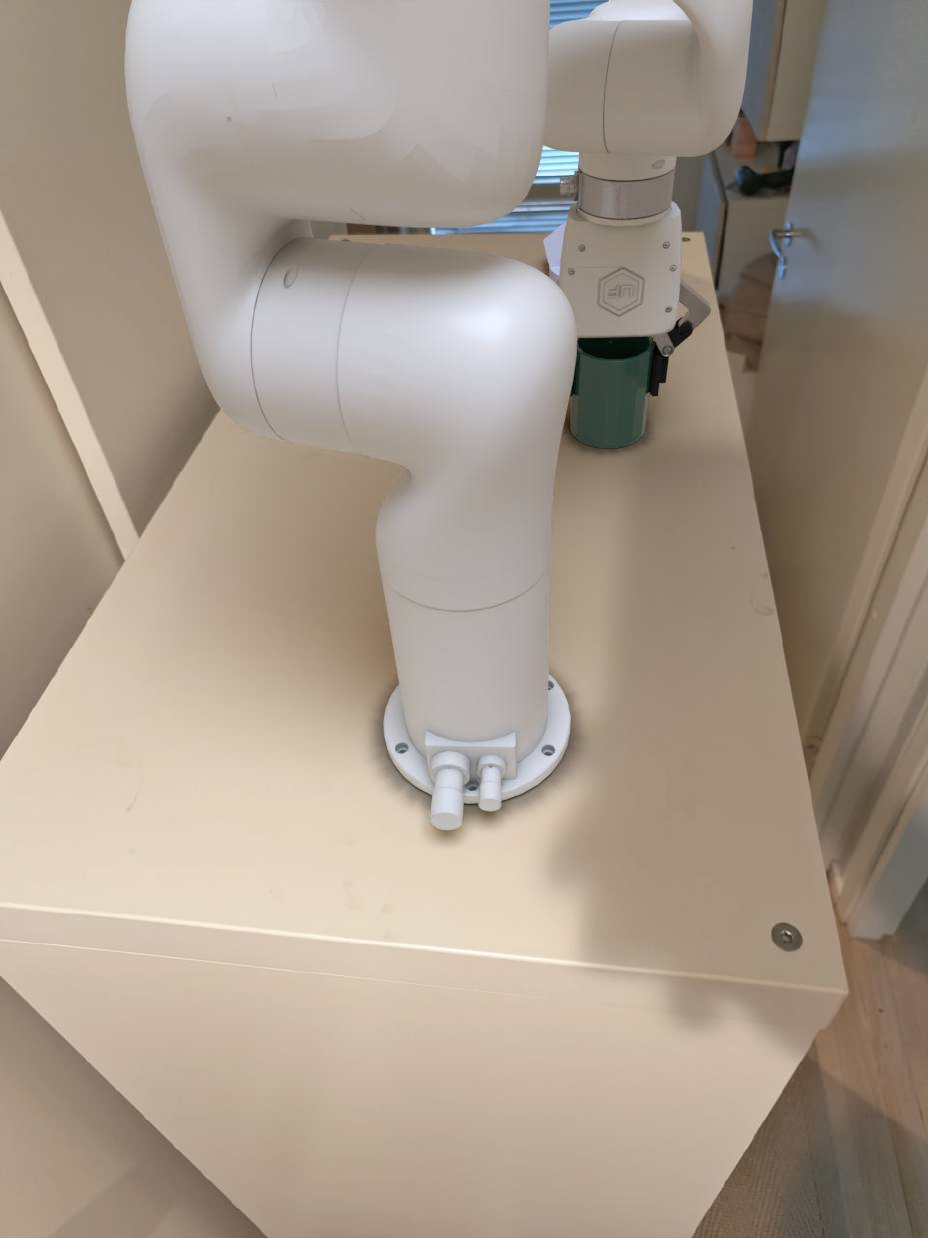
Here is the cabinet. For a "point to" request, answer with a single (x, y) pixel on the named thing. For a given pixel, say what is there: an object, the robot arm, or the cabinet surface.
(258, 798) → the cabinet surface
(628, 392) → the mug
